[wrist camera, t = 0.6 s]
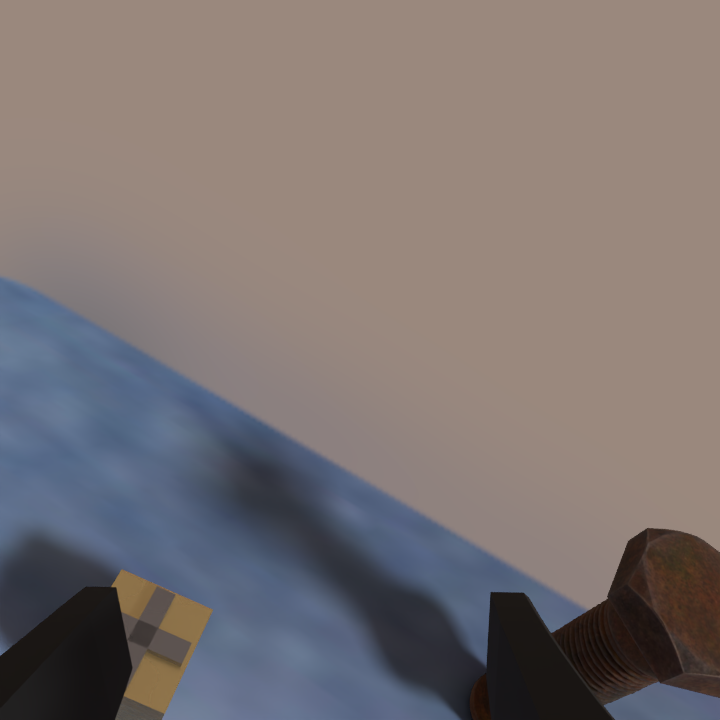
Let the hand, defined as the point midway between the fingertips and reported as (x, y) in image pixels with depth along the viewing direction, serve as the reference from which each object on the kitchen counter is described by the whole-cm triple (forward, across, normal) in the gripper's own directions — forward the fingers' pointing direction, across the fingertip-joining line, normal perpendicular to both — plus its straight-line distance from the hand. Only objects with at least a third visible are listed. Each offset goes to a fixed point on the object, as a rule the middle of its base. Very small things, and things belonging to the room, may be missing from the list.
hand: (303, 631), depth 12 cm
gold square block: (+11, +10, +13) cm, 20 cm away
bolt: (+15, -6, +19) cm, 25 cm away
